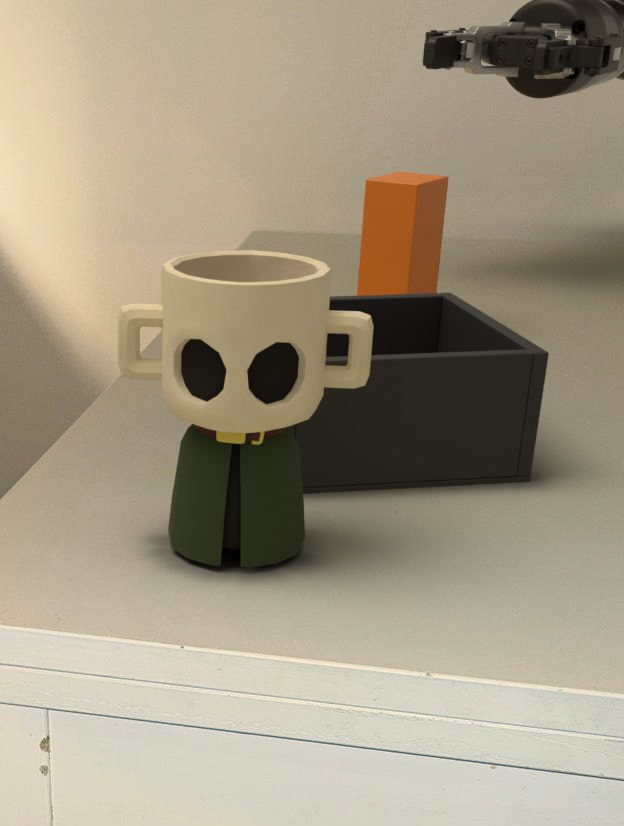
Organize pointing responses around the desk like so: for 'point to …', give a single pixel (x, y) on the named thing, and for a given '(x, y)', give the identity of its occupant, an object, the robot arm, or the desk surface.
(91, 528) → the desk surface
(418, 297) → the bin
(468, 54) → the robot arm
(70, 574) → the desk surface
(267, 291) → the character mug
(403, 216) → the block
